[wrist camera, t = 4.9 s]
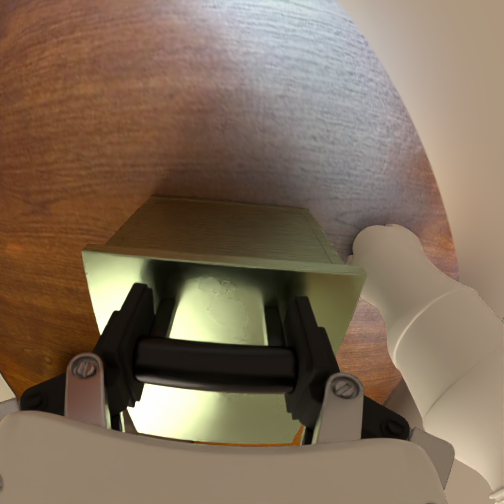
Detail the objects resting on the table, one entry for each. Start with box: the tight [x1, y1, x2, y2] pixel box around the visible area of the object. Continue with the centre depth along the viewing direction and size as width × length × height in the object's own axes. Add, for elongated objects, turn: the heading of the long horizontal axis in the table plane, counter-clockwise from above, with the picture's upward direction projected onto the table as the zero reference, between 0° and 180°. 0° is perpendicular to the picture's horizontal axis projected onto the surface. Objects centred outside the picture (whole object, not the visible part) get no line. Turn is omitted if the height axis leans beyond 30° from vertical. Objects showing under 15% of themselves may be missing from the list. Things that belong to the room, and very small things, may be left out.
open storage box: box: [105, 195, 345, 265], centre depth 21 cm, size 16×13×11 cm
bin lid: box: [81, 244, 367, 444], centre depth 13 cm, size 16×13×5 cm
